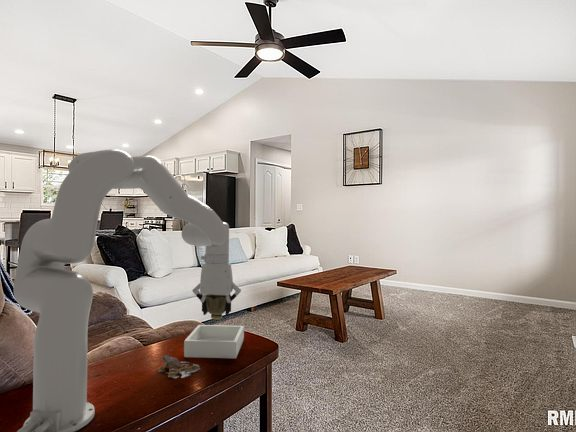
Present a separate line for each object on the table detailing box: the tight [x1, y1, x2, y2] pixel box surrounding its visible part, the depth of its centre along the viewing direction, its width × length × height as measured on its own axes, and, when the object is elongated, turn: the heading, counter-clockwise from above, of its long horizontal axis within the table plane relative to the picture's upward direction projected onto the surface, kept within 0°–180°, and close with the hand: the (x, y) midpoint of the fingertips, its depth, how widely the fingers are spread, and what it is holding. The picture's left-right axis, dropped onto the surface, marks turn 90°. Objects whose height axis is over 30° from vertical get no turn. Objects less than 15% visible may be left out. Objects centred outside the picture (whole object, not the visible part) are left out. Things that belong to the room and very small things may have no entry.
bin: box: [183, 324, 245, 359], centre depth 117 cm, size 16×16×5 cm
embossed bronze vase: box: [206, 295, 227, 321], centre depth 117 cm, size 8×7×8 cm
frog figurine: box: [158, 354, 201, 379], centre depth 100 cm, size 12×12×4 cm
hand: (216, 313), depth 117 cm, fingers closed on embossed bronze vase, 6 cm apart
